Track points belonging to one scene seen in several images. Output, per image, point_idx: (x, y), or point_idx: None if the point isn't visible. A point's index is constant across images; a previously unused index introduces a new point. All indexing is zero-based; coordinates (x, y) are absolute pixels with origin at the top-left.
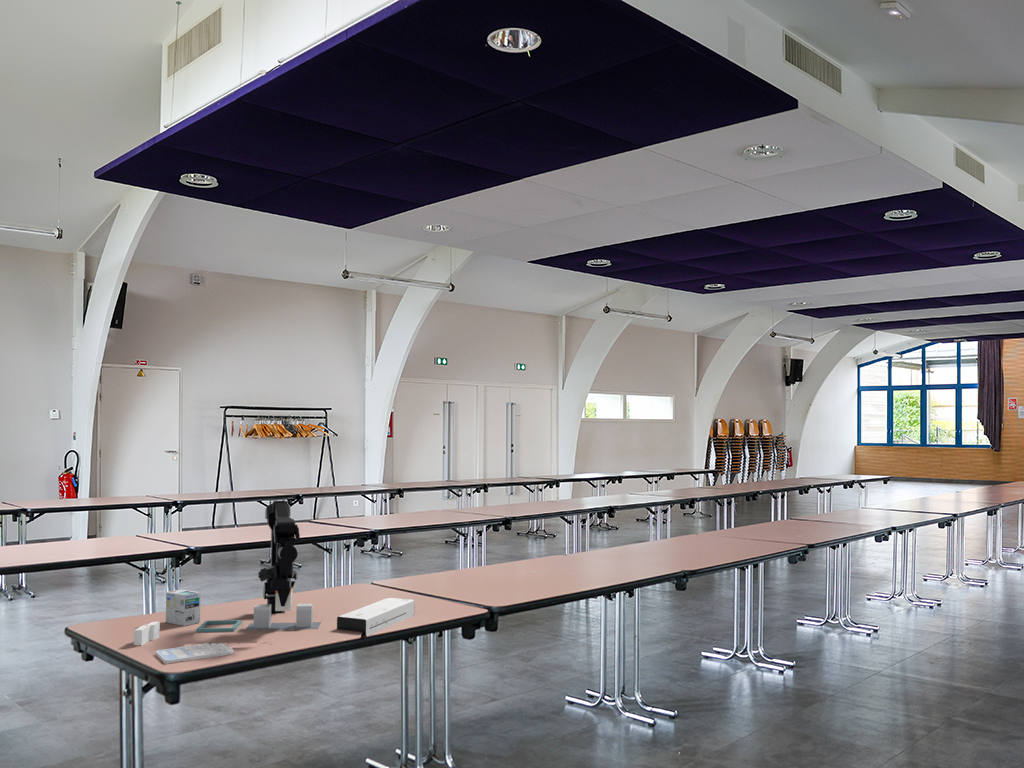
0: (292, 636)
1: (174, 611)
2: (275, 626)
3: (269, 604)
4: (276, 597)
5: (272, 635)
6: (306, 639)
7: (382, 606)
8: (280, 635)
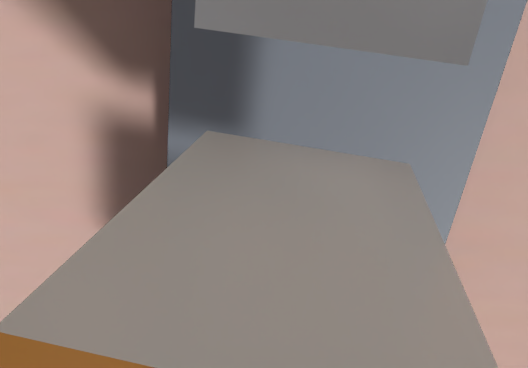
0: (109, 213)
1: None
2: (315, 89)
3: (456, 20)
4: (80, 269)
5: (154, 58)
6: (28, 289)
7: None
8: (148, 127)
